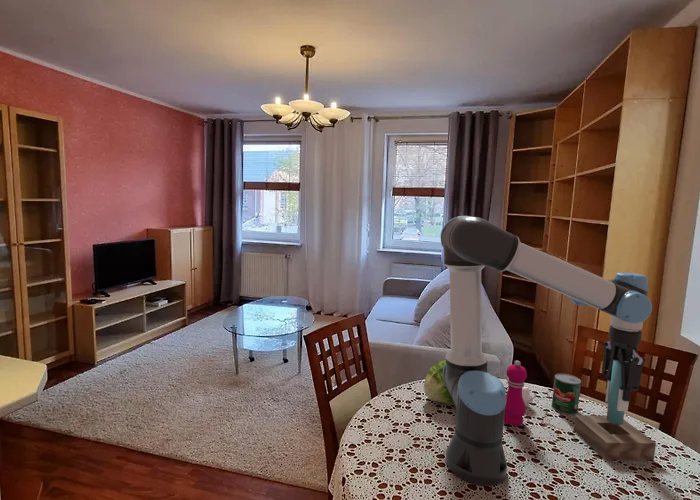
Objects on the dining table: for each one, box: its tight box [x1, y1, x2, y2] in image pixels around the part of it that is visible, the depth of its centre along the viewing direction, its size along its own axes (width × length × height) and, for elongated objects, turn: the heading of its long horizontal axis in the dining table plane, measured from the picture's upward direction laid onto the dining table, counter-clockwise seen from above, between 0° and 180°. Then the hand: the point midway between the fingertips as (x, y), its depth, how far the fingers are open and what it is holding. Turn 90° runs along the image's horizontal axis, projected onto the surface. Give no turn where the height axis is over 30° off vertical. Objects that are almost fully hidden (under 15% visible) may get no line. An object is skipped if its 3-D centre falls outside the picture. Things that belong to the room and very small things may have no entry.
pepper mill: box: [504, 360, 528, 427], centre depth 124 cm, size 7×7×20 cm
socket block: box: [573, 414, 657, 461], centre depth 114 cm, size 14×14×5 cm
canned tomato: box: [551, 373, 582, 416], centre depth 133 cm, size 8×8×11 cm
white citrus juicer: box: [522, 385, 533, 408], centre depth 135 cm, size 6×6×7 cm
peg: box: [606, 360, 629, 425], centre depth 112 cm, size 4×4×18 cm
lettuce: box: [423, 359, 455, 406], centre depth 136 cm, size 16×21×15 cm
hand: (616, 406), depth 113 cm, fingers closed on peg, 4 cm apart
